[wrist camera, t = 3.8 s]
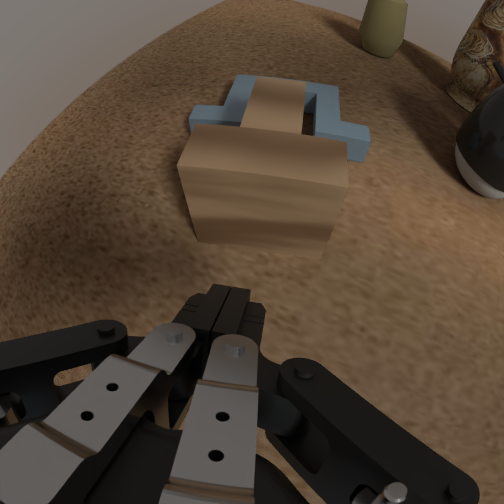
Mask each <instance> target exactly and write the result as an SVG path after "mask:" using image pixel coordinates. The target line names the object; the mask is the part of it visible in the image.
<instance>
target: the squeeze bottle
mask: <svg viewBox="0 0 504 504" xmlns="http://www.w3.org/2000/svg"><path fill="white" fill-rule="evenodd" d="M407 6H408V4H407V3H406V2H405V0H368V3H367V6H366V9H365V12H364V16H363V19H362V22H361V25H360V28H359V30H360V36H361V42H362V47H363V49H365V50H366V51H367V52H369V53H371V54H374V55H376V56H380V57H385V58H390V57H392V56H393V55H394V53H395V52H396V51H397V49H398V48H399V47H400V45H401V44H402V42H403V35H404V29H405V22H406V14H407Z"/></svg>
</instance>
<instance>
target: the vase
mask: <svg viewBox="0 0 504 504" xmlns="http://www.w3.org/2000/svg"><path fill="white" fill-rule="evenodd" d="M496 60H498V61H499V62H500V63H501V64H502V66H503V67H504V0H485V2H484V3H483V5H482V7H481V9H480V10H479V12H478V14H477V15H476V17H475V19H474V20H473V22H472V24H471V25H470V27H469V29H468V30H467V32H466V34H465V36H464V37H463V39H462V41H461V42H460V44H459V46H458V48H457V51H456V53H455V56H454V58H453V62H452V66H451V75H452V78H453V82H452V83H450V84H448V85H446V91H447V93H448V94H449V95H450V96H451V97H452V98H453V99H454V100H455V101H456V102H457V103H458V104H459V105H461V106H462V107H464V108H465V109H466V110H468V111H470V112H472V110H473V109H474V108H475V107H476V106H477V105H478V104H479V103H480V101H482V100H483V99H484V98H485V97H486V96H487V95H488V94H489V93H490V92H492V91H493V90H494V89H496V88H497V87H499V86H500V85H502V84H503V83H502V81H501V79H500V77H499V76H498V74H497V72H496V70H495V68H494V67H493V62H494V61H496Z"/></svg>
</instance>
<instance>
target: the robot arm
mask: <svg viewBox="0 0 504 504" xmlns="http://www.w3.org/2000/svg"><path fill="white" fill-rule="evenodd" d="M250 292H251V290H249V289H243V288H237V287H232V288H231V287H230V286H224V285H218V284H213V285H212V286H211V288H210V289H209V291H208V293H207V294H201V293H197V294H195V295H193V296H191V297H190V298H189V299H188V300H187V302H186V303H185V305H184V306H183V307H182V309H181V310H180V311H179V313H178V314H177V316H176V317H175V318H174V320H173V321H172V323H165V324H161V325H159V326H157V327H155V328H154V329H153V330H152V331H151V332H150V333H149V334H148V335H147V336H146V337H137V336H128V335H127V328H126V326H125V325H124V324H122V323H121V322H119V321H115V320H99V321H94V322H90V323H86V324H82V325H77V326H73V327H69V328H64V329H60V330H55V331H51V332H46V333H42V334H37V335H33V336H28V337H23V338H19V339H14V340H9V341H4V342H0V504H309V503H308V502H307V500H306V499H305V498H304V497H303V496H302V495H301V493H300V492H299V491H298V490H297V489H296V488H295V486H294V485H293V484H292V483H291V482H290V480H289V479H288V478H287V477H286V476H285V474H284V473H283V472H282V471H280V470H279V469H278V468H277V467H276V466H275V465H274V464H272V463H271V462H270V461H268V460H267V459H265V458H263V457H262V456H260V455H258V454H256V435H257V427H259V428H262V429H264V430H265V434H266V437H267V439H268V440H269V441H270V443H271V444H272V445H273V446H274V447H275V448H276V450H277V451H278V452H279V453H280V454H281V455H282V456H283V457H284V459H285V460H286V461H287V462H288V463H289V464H290V465H291V466H292V467H293V469H294V470H295V471H296V472H297V473H298V474H299V475H300V476H301V477H302V478H303V479H304V480H305V482H306V483H307V484H308V485H309V486H310V487H311V488H312V489H313V490H314V491H315V492H316V493H317V494H318V495H319V496H320V497H321V498H322V499H323V500H324V501H325V502H326V503H327V504H478V502H479V496H480V494H479V488H478V486H477V484H476V482H475V481H474V480H473V479H472V478H471V477H470V476H469V475H467V474H466V473H464V472H463V471H462V470H460V469H459V468H457V467H456V466H454V465H453V464H451V463H450V462H449V461H447V460H446V459H444V458H443V457H442V456H440V455H439V454H437V453H436V452H435V451H433V450H432V449H430V448H429V447H428V446H426V445H425V444H423V443H422V442H421V441H419V440H418V439H417V438H415V437H414V436H413V435H411V434H410V433H409V432H407V431H406V430H404V429H403V428H402V427H400V426H399V425H398V424H396V423H395V422H394V421H392V420H391V419H390V418H389V417H387V416H386V415H385V414H383V413H382V412H381V411H379V410H378V409H377V408H375V407H374V406H373V405H372V404H370V403H369V402H368V401H366V400H365V399H364V398H362V397H361V396H360V395H359V394H357V393H356V392H355V391H354V390H352V389H351V388H350V387H348V386H347V385H346V384H345V383H343V382H342V381H341V380H340V379H338V378H337V377H336V376H335V375H333V374H332V373H331V372H330V371H328V370H327V369H326V368H325V367H323V366H322V365H321V364H319V363H318V362H316V361H313V360H310V359H306V358H292V359H288V360H286V361H284V362H283V363H282V364H281V365H279V364H276V363H274V362H272V361H270V360H268V359H267V358H265V357H264V356H263V355H262V353H261V352H260V343H261V337H262V331H263V325H264V319H265V312H266V310H265V308H264V307H263V305H262V304H261V303H255V302H249V301H250ZM90 363H91V367H92V373H91V374H90V375H89V376H88V377H87V378H86V379H84V380H80V381H77V382H73V383H69V384H66V385H62V386H56V385H54V382H53V380H54V377H55V375H56V374H57V373H58V372H60V371H64V370H68V369H71V368H75V367H79V366H82V365H86V364H90ZM188 411H189V412H188ZM187 413H188V415H187ZM186 415H187V418H186V422H185V425H184V429H183V430H179V428H180V426H181V424H182V422H183V420H184V418H185V417H186Z"/></svg>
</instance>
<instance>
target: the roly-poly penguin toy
mask: <svg viewBox="0 0 504 504" xmlns="http://www.w3.org/2000/svg"><path fill="white" fill-rule="evenodd" d="M493 67H494V68H495V70H496V72H497V74H498V76H499V77H500V79H501V81H502V83H503V84H502V85H500V86H499V87H497V88H496V89H494V90H493V91H492V92H490V93H489V94H488V95H487V96H486V97H485V98H484V99H483V100H482V101H480V103H479V104H478V105H477V106H476V107H475V108H474V109H473V110H472V112H471V113H470V114H469V116H468V117H467V118H466V120H465V121H464V122H463V124H462V125H461V127H460V128H459V130H458V132H457V135H456V146H455V159H456V164H457V167H458V169H459V172H460V174H461V175H462V177H463V178H464V180H465V181H466V182H467V184H468V185H469V186H470V187H471V188H473V189H474V190H475V191H476V192H478V193H479V194H481V195H483V196H485V197H488V198H493V199H500V198H504V67H503V66H502V64H501V63H500V62H499V61H498V60H496V61H494V62H493Z"/></svg>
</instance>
